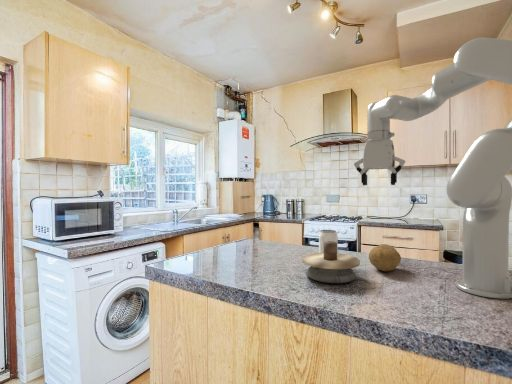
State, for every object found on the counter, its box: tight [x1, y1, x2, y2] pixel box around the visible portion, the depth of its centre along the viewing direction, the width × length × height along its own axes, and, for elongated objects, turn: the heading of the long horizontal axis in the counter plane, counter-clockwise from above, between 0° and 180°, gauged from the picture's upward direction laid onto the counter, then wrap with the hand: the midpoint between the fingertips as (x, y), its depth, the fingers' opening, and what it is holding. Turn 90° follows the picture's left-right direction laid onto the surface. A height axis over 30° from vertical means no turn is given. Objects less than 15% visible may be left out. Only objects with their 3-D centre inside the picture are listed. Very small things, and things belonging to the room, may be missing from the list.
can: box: [318, 229, 339, 253], centre depth 104 cm, size 6×6×12 cm
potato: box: [368, 243, 402, 272], centre depth 96 cm, size 10×14×8 cm
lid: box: [301, 241, 361, 269], centre depth 88 cm, size 17×17×6 cm
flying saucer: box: [305, 266, 357, 284], centre depth 88 cm, size 15×15×6 cm
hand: (378, 185), depth 104 cm, fingers open, 9 cm apart
